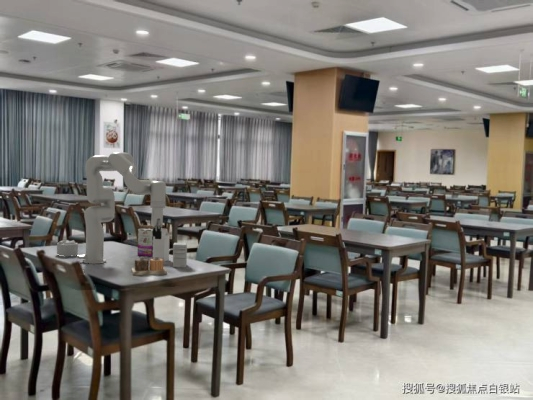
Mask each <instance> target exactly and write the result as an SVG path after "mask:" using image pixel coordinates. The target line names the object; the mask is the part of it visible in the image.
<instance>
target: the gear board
mask: <svg viewBox="0 0 533 400" xmlns="http://www.w3.org/2000/svg"><path fill="white" fill-rule="evenodd" d="M149 260H150V259H146V258H145V256H140V257H139V258H137V259H134V267H131V270H130V271H131V273H132V275H133V276H137V275H138V276H141V275H142V276H143V275H167V274H168V271H167V269H166V268H165V267H164V266H163V269H162V270H158V271H156V270H149ZM154 260H159V257H154Z"/></svg>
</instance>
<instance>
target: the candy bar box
mask: <svg viewBox="0 0 533 400" xmlns="http://www.w3.org/2000/svg"><path fill="white" fill-rule="evenodd" d="M137 256H140V257H150V258H153V228H138V229H137Z"/></svg>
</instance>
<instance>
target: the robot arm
mask: <svg viewBox="0 0 533 400" xmlns="http://www.w3.org/2000/svg"><path fill="white" fill-rule="evenodd" d="M134 162H135V160H134V157H133V155H131V154H130V153H128V152H122V151H121V152H119V151H115V152H112V153H110V154H109V155H93V156H90V157H89V158H88V159H87V160H86V162H85V167H84V168H85V175H86V198H87V201H88V202H89V203H90V204H100V205H92V206H89V207H87V208H85V210H84V214H83V215H84V216H83V217H84V223H85V253H84V254H78V255H77V256H76V259H77V260H82V263H83V262H84V264H88V263H89V264H92V265H95V264H96V265H97V264H104V263H106V262H107V259H106V258H104V245H105V244H104V240H105V237H104V236H105V231H104V226H103V225H102V223H109V222H111V221H113V219H115V218H114V217H115V212H116V211H115V210H116V209H115V208H116V207H115V206H116V204H115V203H116V201H115V200H116V199H115V197H116V196H115V192H114V190H113V188H111V187H110V186H104V184H103V183H104V182H103V180H104V178H103V176H102V174H101V172H118V173H119V175H121V176H122V177H123V182H124V184H125V186H126V188H128V189H129V191H131V192H132V193H134V194H136V195H139V196H140V195H142V196H143V195H150V209H151V216H150V217H151V218H150V219H151V220H150V221H151V222H150V226H151V227H152V229H153V237H155V239H161V235H162V231H161V228H162V227H163V222H164V221H163V220H164V209H165V208H166V197H167V196H166V195H167V193H166V192H167V189H166V187H167V184H166V182H165V181H161V180H158V181H157V180H151V179H148V180H147V179H139V178H137V176H135V175H136V173H137V166H136V165H135V164H134Z"/></svg>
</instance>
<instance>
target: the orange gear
mask: <svg viewBox="0 0 533 400" xmlns="http://www.w3.org/2000/svg"><path fill="white" fill-rule="evenodd" d="M148 260H149V270H156V271H158V270H162V269H163V267H164V262H163V259H159V260H154V259H153V258H151V259H148Z"/></svg>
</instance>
